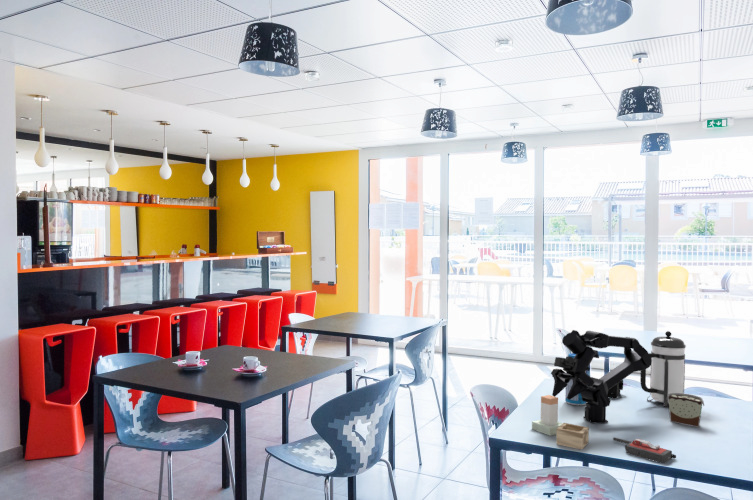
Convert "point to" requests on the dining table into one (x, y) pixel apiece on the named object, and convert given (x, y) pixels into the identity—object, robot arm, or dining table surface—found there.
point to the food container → (685, 408)
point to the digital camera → (615, 390)
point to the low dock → (545, 427)
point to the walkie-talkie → (647, 450)
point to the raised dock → (572, 435)
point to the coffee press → (665, 368)
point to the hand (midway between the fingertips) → (560, 397)
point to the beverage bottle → (575, 400)
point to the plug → (549, 410)
